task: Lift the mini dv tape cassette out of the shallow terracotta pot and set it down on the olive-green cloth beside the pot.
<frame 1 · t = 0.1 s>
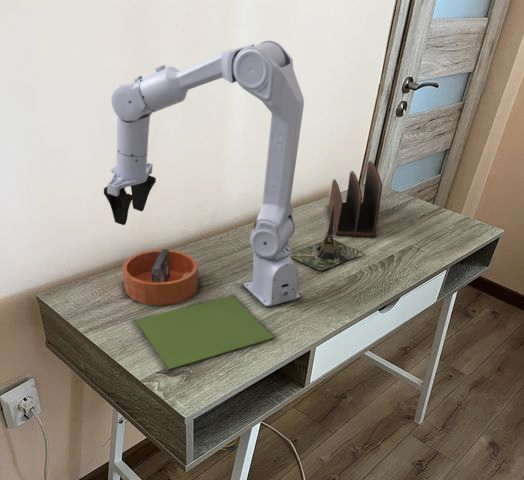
hand: (129, 216, 109), 10 cm above the table, tool pointing down, fingers open, 7 cm apart
ring: (266, 247, 125), on the table
pot: (162, 286, 108), on the table
eiffel tower figurine: (325, 256, 123), on the table
letter holder: (350, 221, 140), on the table
mini dv tape: (161, 285, 108), resting on pot
cloth: (204, 329, 96), on the table
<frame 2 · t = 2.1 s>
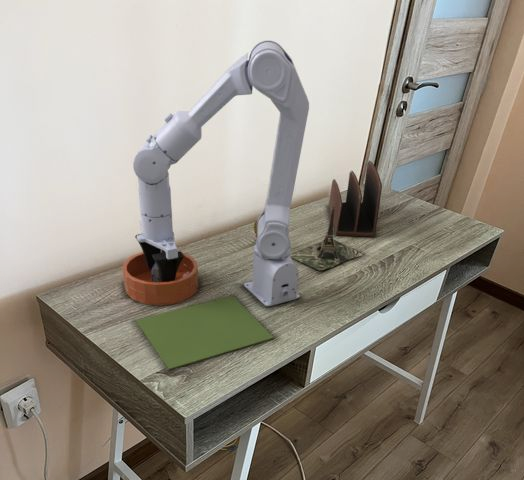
hand: (160, 276, 106), 2 cm above the table, tool pointing down, fingers closed on mini dv tape, 7 cm apart
mini dv tape: (161, 285, 108), resting on pot, touching gripper
everything else where it was.
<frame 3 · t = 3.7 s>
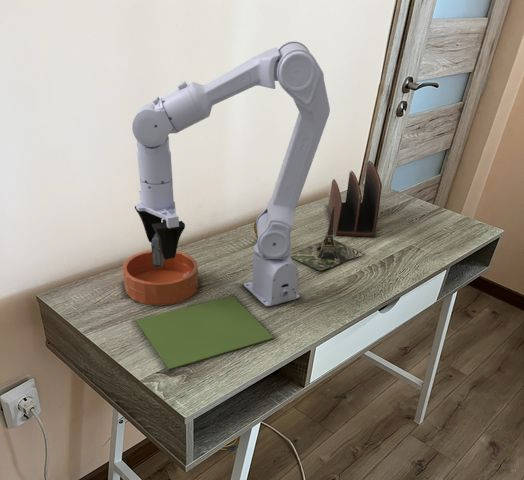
hand: (161, 249, 102), 9 cm above the table, tool pointing down, fingers closed on mini dv tape, 7 cm apart
mini dv tape: (162, 259, 103), point 7 cm above the table, touching gripper
everything else where it was.
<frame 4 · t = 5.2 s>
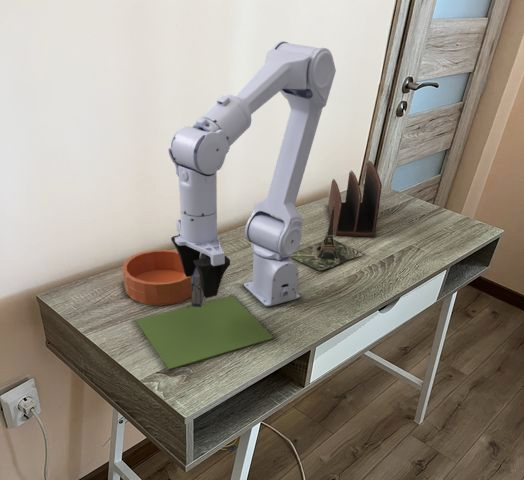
hand: (200, 285, 91), 9 cm above the table, tool pointing down, fingers closed on mini dv tape, 7 cm apart
mini dv tape: (200, 295, 93), point 7 cm above the table, touching gripper
everything else where it was.
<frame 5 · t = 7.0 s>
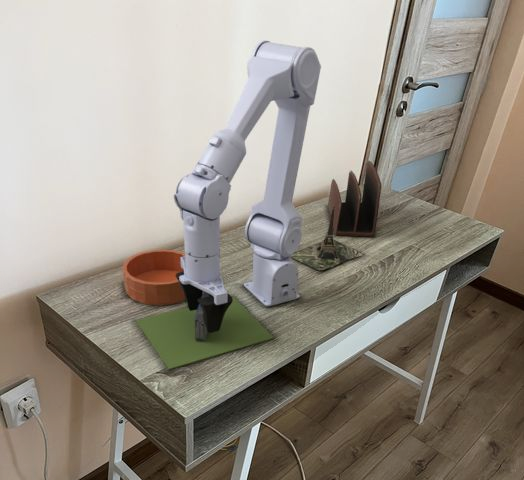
hand: (203, 319, 95), 2 cm above the table, tool pointing down, fingers closed on mini dv tape, 7 cm apart
mini dv tape: (204, 329, 96), resting on cloth, touching gripper
everything else where it was.
when the fingers open (9 cm above the table, at t = 8.6 s): mini dv tape drops 6 cm, resting on cloth.
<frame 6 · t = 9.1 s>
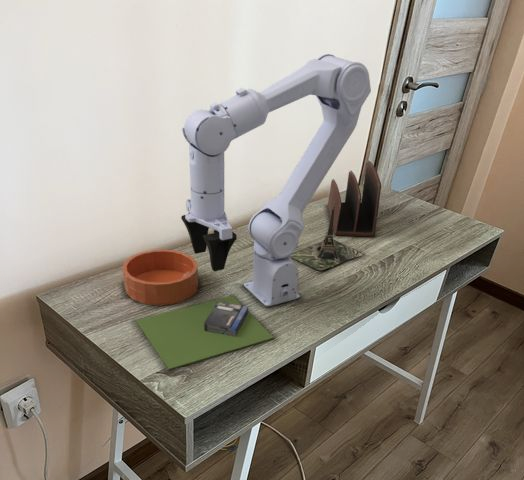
hand: (208, 260, 98), 9 cm above the table, tool pointing down, fingers open, 7 cm apart
mini dv tape: (210, 315, 98), point 1 cm above the table, touching cloth
everything else where it was.
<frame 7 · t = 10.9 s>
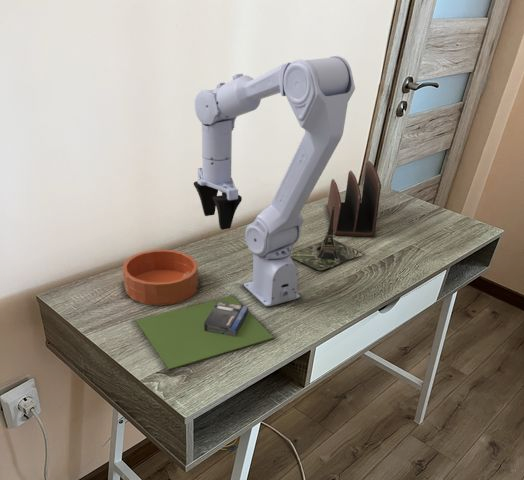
hand: (217, 221, 112), 9 cm above the table, tool pointing down, fingers open, 7 cm apart
nothing on the table moved.
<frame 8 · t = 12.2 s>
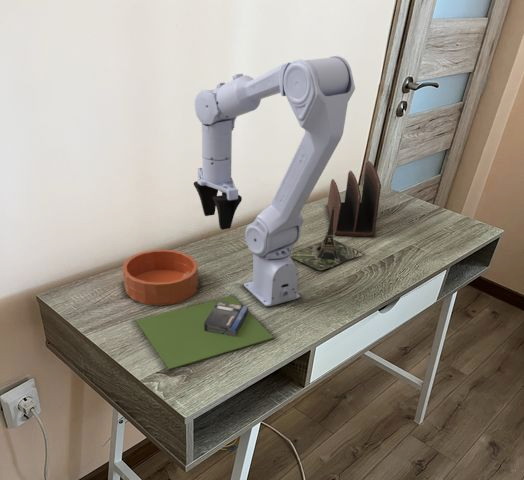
hand: (217, 221, 112), 9 cm above the table, tool pointing down, fingers open, 7 cm apart
nothing on the table moved.
at the end: mini dv tape inside the target area on the cloth (3.5 cm from its centre), point 1.1 cm above the cloth's base; mini dv tape touching cloth; the gripper is holding nothing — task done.
